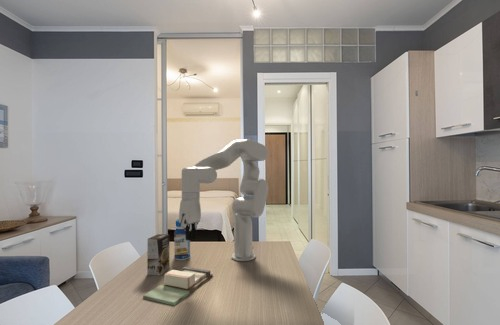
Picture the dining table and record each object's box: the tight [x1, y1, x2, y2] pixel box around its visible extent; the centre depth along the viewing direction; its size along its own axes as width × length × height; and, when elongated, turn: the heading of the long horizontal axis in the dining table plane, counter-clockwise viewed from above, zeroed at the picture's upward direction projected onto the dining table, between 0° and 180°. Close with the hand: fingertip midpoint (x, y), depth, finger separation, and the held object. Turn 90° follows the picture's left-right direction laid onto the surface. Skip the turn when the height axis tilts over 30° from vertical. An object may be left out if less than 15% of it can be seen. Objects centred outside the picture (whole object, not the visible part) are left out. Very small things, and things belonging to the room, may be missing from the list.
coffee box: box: [146, 233, 171, 277], centre depth 122 cm, size 9×6×16 cm
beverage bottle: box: [173, 218, 191, 261], centre depth 140 cm, size 8×8×20 cm
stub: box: [163, 269, 195, 289], centre depth 105 cm, size 5×11×4 cm, turn 68°
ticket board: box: [142, 266, 214, 306], centre depth 106 cm, size 26×14×3 cm, turn 158°
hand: (190, 239), depth 113 cm, fingers closed
